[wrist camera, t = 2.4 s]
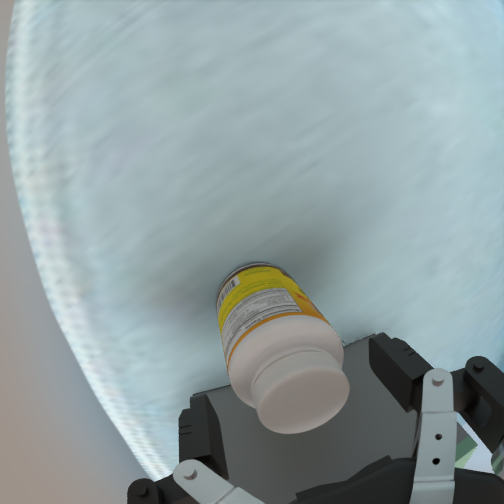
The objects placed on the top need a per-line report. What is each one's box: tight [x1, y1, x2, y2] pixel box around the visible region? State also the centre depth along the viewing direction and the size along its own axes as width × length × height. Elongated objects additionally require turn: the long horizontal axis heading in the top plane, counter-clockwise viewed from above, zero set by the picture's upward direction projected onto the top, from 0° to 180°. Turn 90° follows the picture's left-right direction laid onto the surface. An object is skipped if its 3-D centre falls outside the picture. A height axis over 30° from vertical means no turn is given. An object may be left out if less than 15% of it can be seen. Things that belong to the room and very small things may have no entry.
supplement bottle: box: [216, 263, 350, 434], centre depth 16 cm, size 6×6×10 cm
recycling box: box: [193, 334, 477, 504], centre depth 19 cm, size 16×16×14 cm
